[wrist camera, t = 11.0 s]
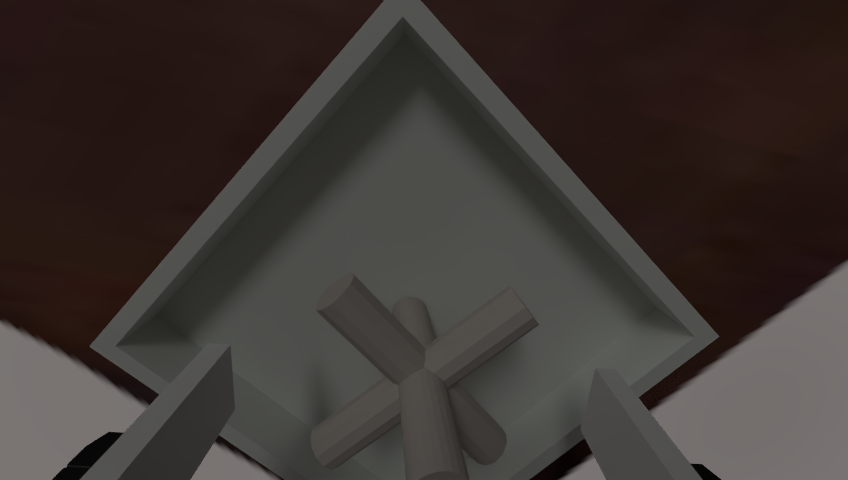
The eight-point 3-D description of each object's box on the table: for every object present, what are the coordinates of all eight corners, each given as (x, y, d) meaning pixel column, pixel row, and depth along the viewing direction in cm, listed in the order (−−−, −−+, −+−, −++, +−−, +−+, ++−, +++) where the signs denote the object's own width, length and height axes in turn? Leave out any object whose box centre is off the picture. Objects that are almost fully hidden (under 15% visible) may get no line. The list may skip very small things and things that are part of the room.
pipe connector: (537, 319, 21) (665, 490, 12) (395, 420, 22) (410, 648, 13) (427, 177, 18) (484, 261, 9) (266, 304, 19) (164, 500, 10)
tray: (404, 8, 17) (402, -21, 13) (671, 302, 21) (719, 336, 18) (142, 310, 21) (89, 346, 17) (413, 507, 25) (413, 566, 22)
